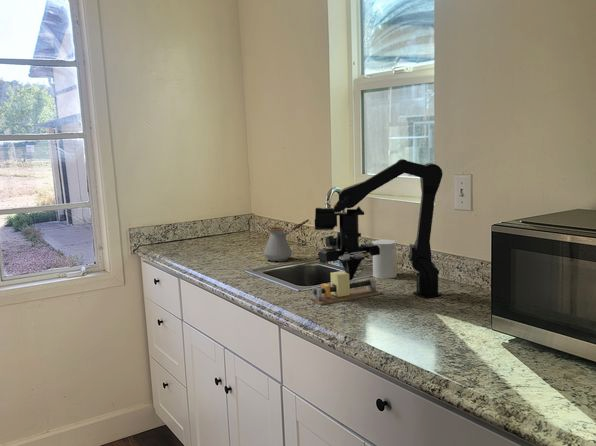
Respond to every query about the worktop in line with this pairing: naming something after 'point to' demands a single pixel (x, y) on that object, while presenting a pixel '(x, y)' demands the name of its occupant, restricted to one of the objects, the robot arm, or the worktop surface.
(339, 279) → the sleeve
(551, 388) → the worktop surface
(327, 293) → the band
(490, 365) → the worktop surface
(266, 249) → the coffee pot
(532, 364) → the worktop surface
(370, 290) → the rod on a board
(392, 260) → the cup
